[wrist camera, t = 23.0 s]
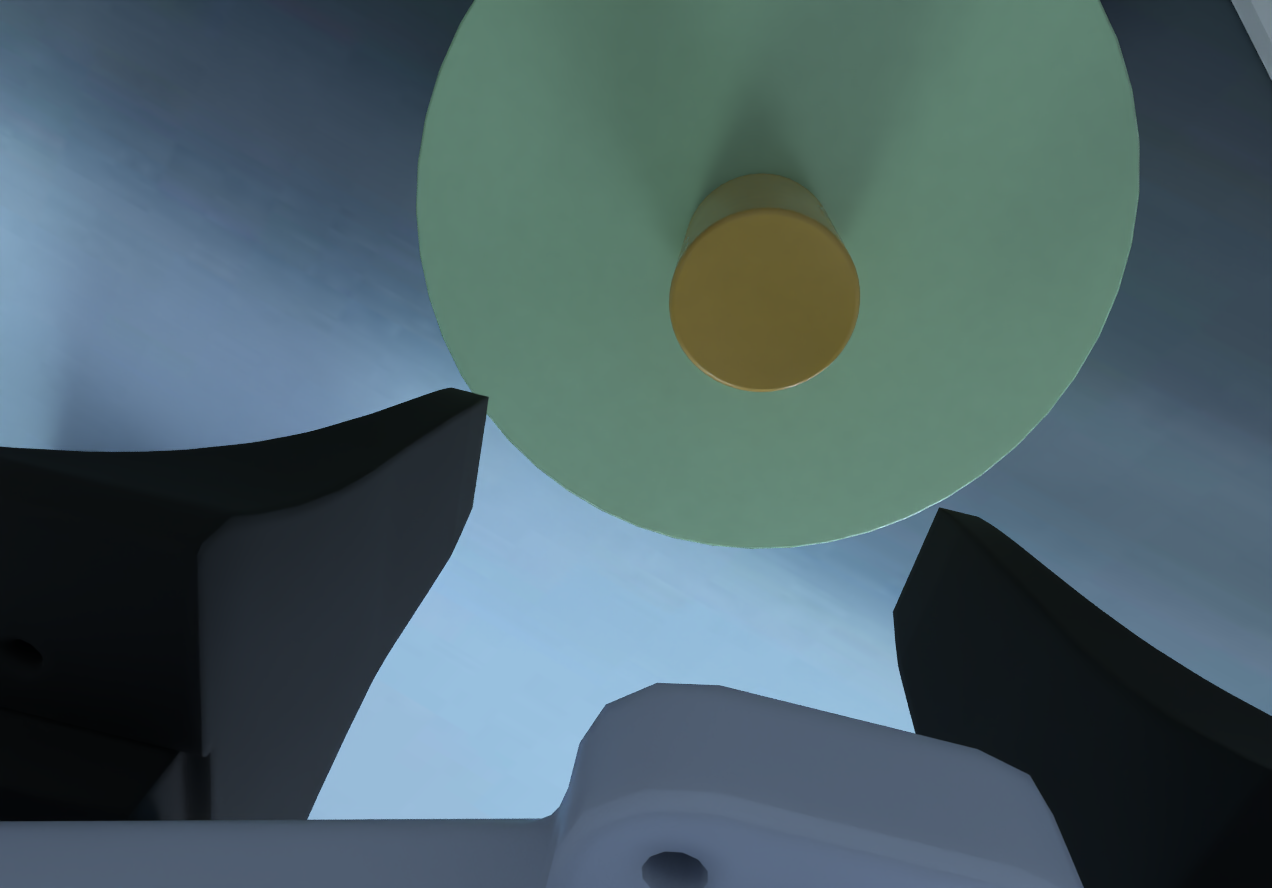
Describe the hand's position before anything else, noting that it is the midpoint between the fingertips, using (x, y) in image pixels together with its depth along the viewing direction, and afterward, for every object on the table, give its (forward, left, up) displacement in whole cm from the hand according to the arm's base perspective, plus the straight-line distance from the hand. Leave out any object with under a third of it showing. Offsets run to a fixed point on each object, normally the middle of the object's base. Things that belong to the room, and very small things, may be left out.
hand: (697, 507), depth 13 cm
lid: (0, +3, -4) cm, 5 cm away
